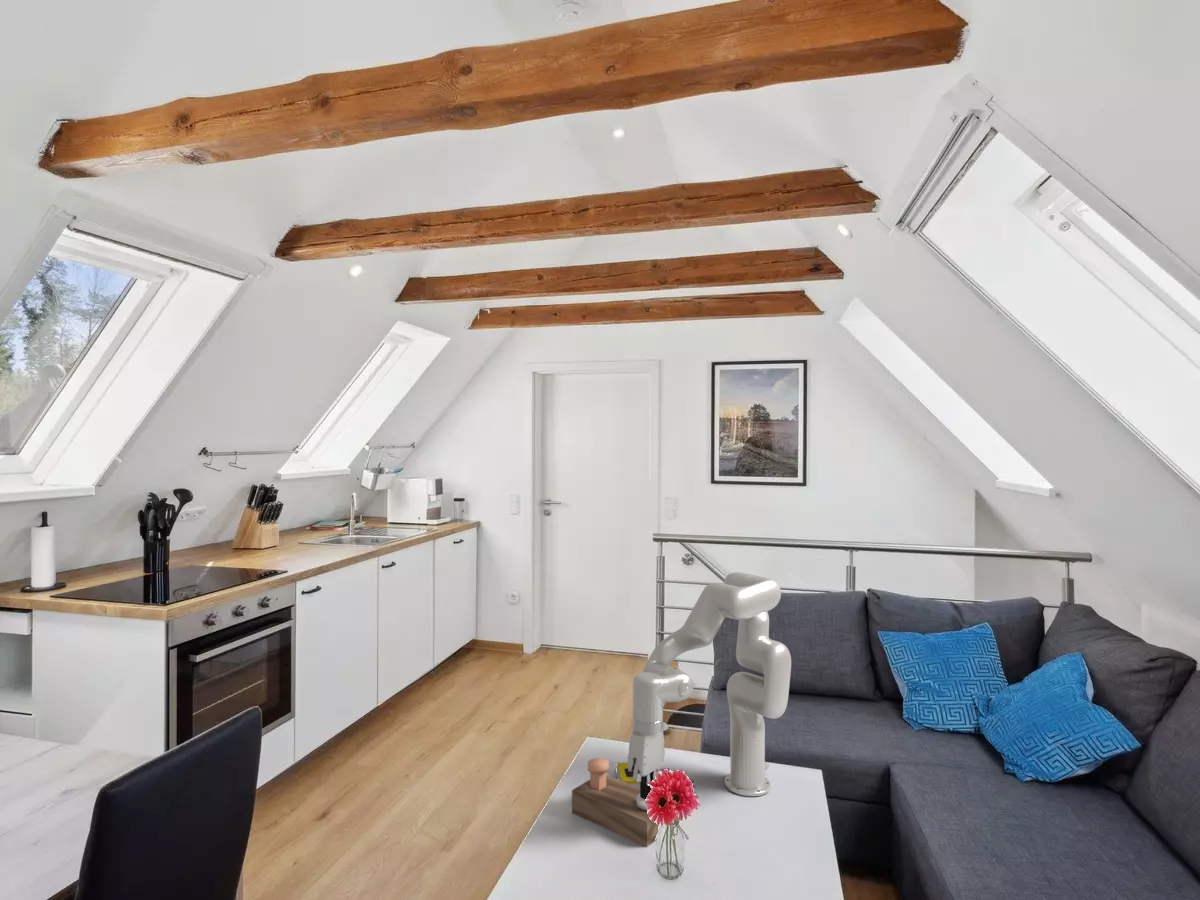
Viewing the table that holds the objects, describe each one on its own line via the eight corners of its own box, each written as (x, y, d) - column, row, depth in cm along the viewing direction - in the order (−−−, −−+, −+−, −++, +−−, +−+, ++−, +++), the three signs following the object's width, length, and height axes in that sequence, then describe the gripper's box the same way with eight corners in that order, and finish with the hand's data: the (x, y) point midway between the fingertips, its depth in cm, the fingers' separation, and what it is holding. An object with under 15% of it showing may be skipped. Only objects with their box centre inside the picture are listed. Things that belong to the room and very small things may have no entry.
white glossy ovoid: (645, 819, 173) (645, 789, 173) (663, 827, 169) (663, 796, 169) (632, 829, 169) (632, 798, 169) (650, 837, 165) (650, 806, 165)
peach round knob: (596, 784, 183) (596, 756, 183) (613, 790, 179) (613, 762, 179) (583, 792, 179) (583, 763, 179) (599, 799, 175) (599, 770, 175)
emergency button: (621, 779, 187) (614, 755, 202) (621, 795, 187) (614, 770, 202) (655, 778, 188) (645, 753, 203) (655, 793, 188) (645, 768, 203)
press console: (600, 794, 186) (600, 772, 186) (674, 825, 171) (674, 801, 171) (571, 812, 177) (571, 789, 177) (647, 847, 162) (647, 822, 162)
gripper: (652, 711, 177) (651, 782, 177) (617, 729, 165) (616, 805, 165) (676, 719, 172) (676, 791, 172) (642, 738, 161) (641, 815, 161)
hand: (647, 797), depth 169 cm, fingers closed
